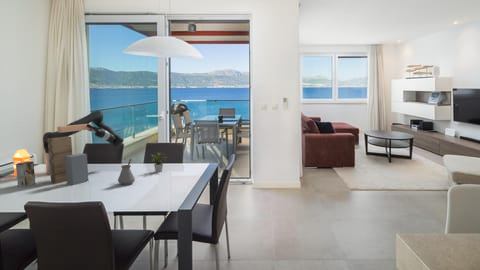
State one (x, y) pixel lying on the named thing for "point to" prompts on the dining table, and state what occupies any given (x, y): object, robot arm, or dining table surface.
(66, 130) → the block
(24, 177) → the coffee box
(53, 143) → the stand
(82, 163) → the pedestal
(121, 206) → the dining table surface
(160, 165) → the house plant
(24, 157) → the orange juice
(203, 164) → the dining table surface
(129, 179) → the coffee pot
